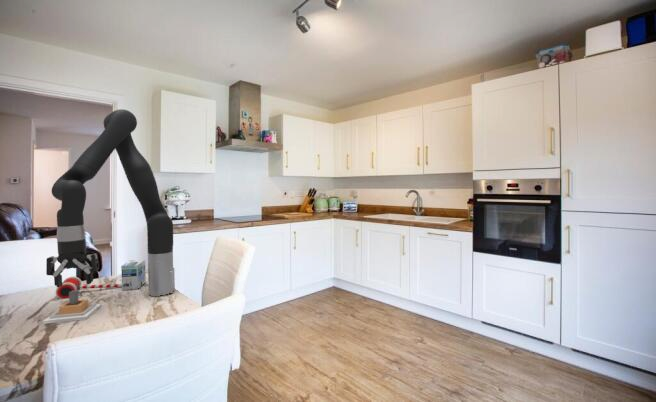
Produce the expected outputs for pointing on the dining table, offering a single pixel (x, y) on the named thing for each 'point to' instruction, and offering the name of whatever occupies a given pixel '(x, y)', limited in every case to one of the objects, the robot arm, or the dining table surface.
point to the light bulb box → (133, 274)
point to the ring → (73, 307)
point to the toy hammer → (77, 287)
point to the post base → (75, 316)
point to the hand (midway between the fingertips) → (74, 285)
